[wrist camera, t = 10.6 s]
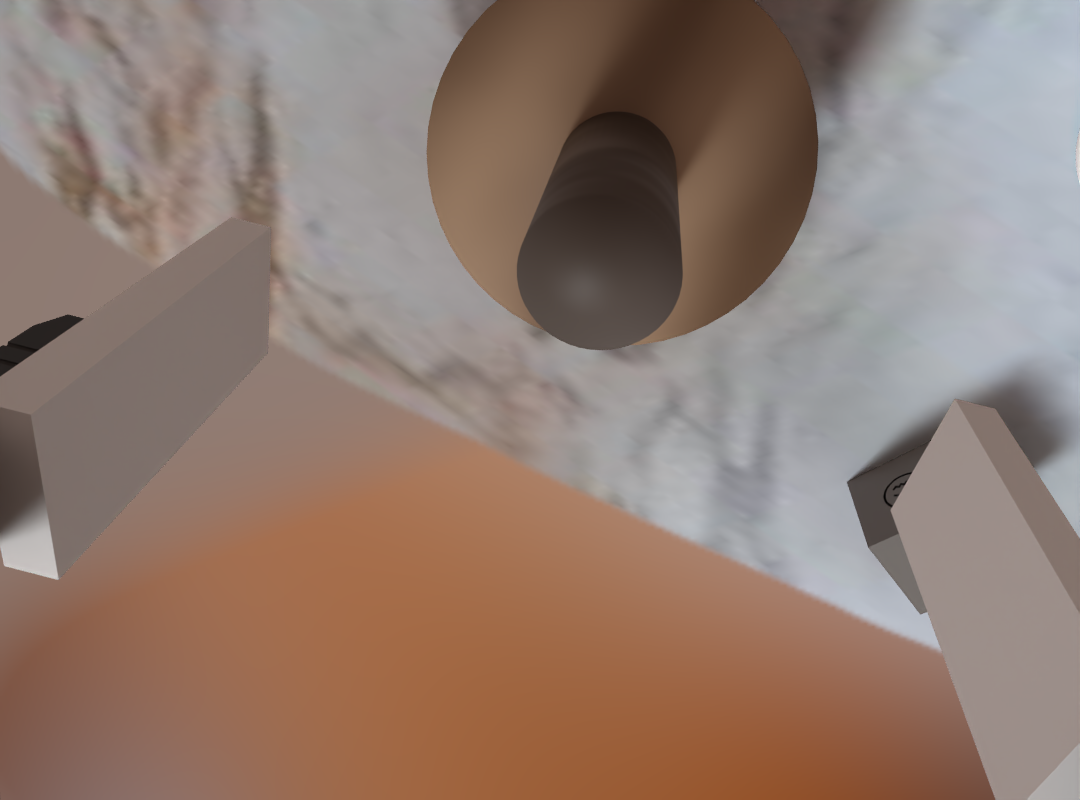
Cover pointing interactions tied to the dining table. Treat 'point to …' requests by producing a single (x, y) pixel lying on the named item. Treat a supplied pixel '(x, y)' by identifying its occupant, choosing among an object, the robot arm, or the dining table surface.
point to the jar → (1078, 156)
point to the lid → (622, 161)
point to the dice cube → (887, 518)
